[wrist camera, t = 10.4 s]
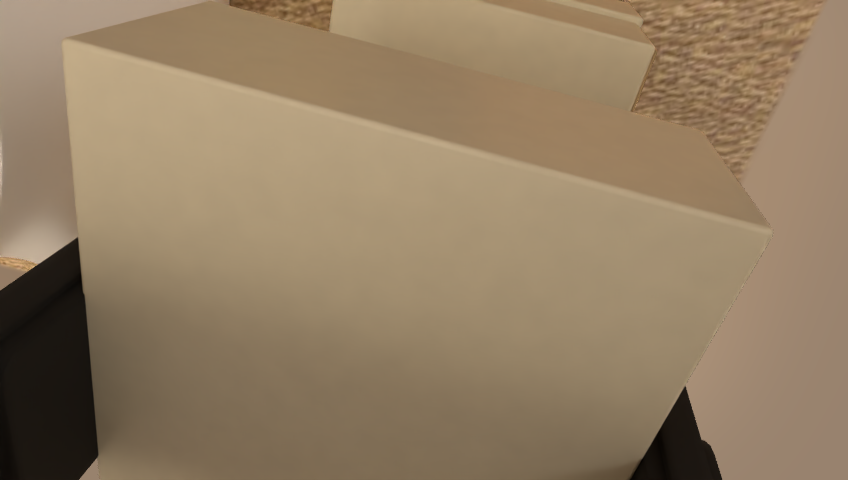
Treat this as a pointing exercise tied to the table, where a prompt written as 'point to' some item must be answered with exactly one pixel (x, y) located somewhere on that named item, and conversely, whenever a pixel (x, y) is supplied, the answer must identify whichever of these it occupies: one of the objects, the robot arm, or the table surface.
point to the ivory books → (516, 40)
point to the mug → (45, 116)
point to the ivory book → (381, 259)
